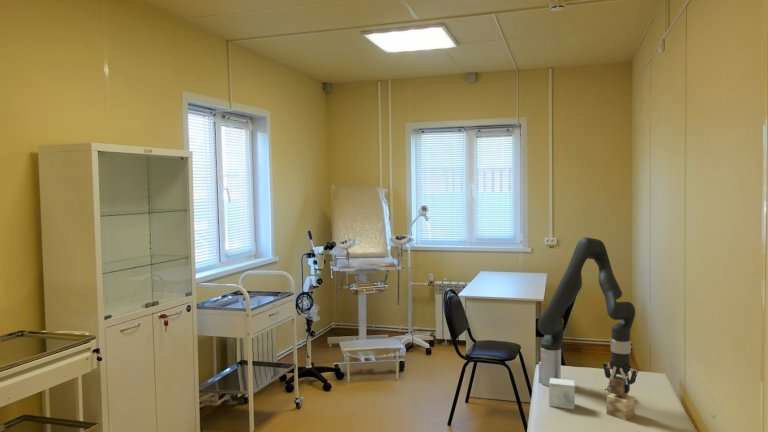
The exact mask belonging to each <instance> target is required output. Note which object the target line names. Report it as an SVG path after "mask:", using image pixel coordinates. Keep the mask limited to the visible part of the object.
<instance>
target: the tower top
mask: <svg viewBox="0 0 768 432" xmlns="http://www.w3.org/2000/svg"><path fill="white" fill-rule="evenodd" d="M606 405H607V406H610V407H613V408H617V409H620V410H623V411H627V410H629V409H630V408H632V407H634V406H636V396H634V395H632V394H629V393H628V394H626V395H624V396H620V395H616V394H613V393H611V394H610V393H609V394H607V395H606Z"/></svg>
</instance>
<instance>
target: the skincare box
mask: <svg viewBox="0 0 768 432" xmlns="http://www.w3.org/2000/svg"><path fill="white" fill-rule="evenodd" d="M575 394H576V380H574V379H573V380H570V379H564V378H561V379H555V378H550V381H549V386H548V407H555V408H560V409H569V410H575V406H576V405H575V402H576V401H575V400H576V399H575V398H576V397H575Z"/></svg>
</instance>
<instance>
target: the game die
mask: <svg viewBox="0 0 768 432" xmlns="http://www.w3.org/2000/svg"><path fill="white" fill-rule="evenodd" d="M608 379H609V378H608ZM608 381H609V382H608V385H607V387H606V388H605V389H604V391H607V392H608V393H609V394H611V387H610V379H609V380H608Z"/></svg>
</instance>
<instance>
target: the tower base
mask: <svg viewBox="0 0 768 432" xmlns="http://www.w3.org/2000/svg"><path fill="white" fill-rule="evenodd" d="M635 406H636V405H635ZM635 406H634V407H632V408H630V409H629V410H627V411H623V410H620V409H617V408H613V407H610V406H607V404H606V409H605V411H606V413H605V414H606V415H607V416H611V417H614V418H617V419H621V420H623V421H627V420H628V419H630V418H632V417H633V416H634V415H635V412H636V411H635Z"/></svg>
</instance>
